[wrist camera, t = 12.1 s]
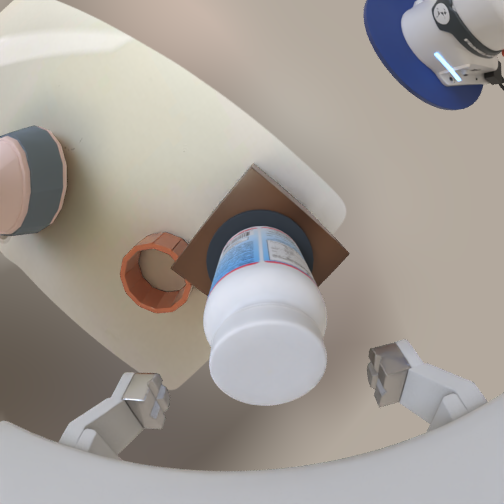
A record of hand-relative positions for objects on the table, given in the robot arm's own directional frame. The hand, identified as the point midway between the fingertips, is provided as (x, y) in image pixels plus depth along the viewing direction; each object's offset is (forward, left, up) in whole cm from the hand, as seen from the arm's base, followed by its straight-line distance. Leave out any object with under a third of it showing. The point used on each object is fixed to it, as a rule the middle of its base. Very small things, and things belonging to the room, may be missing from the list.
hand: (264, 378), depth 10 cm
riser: (0, 0, -32) cm, 32 cm away
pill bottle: (0, 0, -12) cm, 12 cm away
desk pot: (+16, +6, -32) cm, 36 cm away
